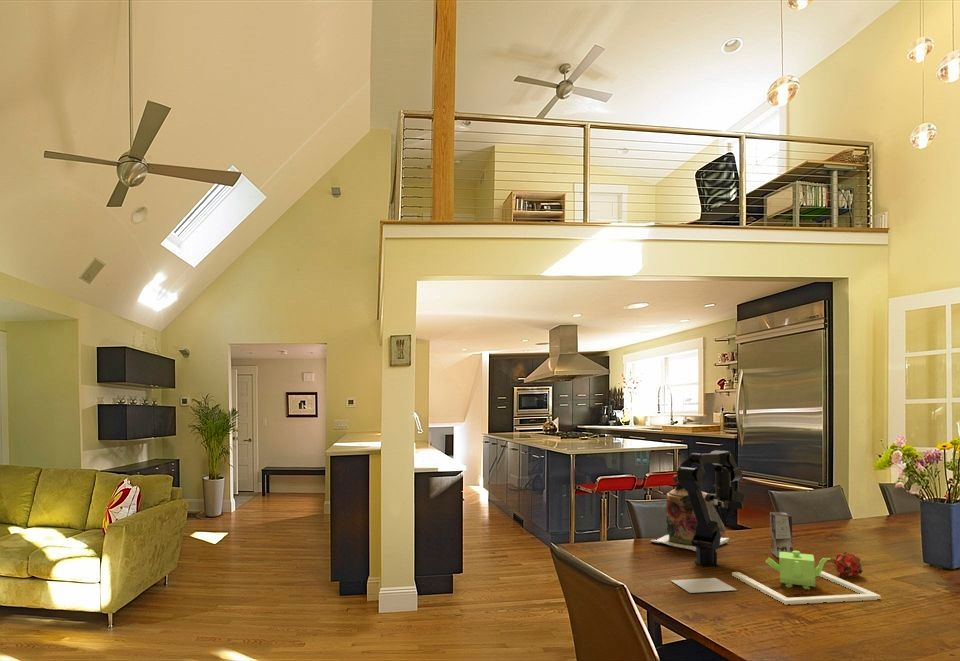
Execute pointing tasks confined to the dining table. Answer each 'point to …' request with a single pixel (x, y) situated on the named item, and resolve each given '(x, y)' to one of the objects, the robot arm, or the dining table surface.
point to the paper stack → (703, 585)
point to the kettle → (797, 568)
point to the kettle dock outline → (814, 599)
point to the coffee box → (781, 532)
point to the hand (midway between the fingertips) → (724, 523)
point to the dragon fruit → (848, 565)
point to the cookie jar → (681, 519)
